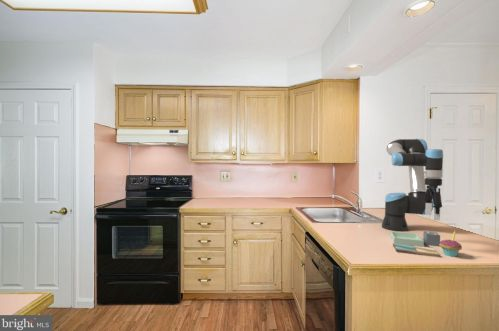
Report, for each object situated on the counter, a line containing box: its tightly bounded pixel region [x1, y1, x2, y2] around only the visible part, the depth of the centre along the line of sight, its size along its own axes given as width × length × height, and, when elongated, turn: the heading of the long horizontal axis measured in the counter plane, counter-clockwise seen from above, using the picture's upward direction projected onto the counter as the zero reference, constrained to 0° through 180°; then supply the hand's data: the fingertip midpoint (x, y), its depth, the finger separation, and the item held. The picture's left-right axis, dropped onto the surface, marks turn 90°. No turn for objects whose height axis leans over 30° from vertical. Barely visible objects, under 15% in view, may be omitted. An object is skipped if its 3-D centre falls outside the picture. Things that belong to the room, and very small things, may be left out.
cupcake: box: [438, 231, 463, 258], centre depth 123 cm, size 9×8×12 cm
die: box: [422, 230, 441, 248], centre depth 139 cm, size 6×6×6 cm
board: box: [392, 242, 441, 258], centre depth 128 cm, size 11×18×1 cm, turn 69°
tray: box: [389, 230, 425, 247], centre depth 143 cm, size 14×14×3 cm
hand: (432, 217), depth 138 cm, fingers open, 13 cm apart
